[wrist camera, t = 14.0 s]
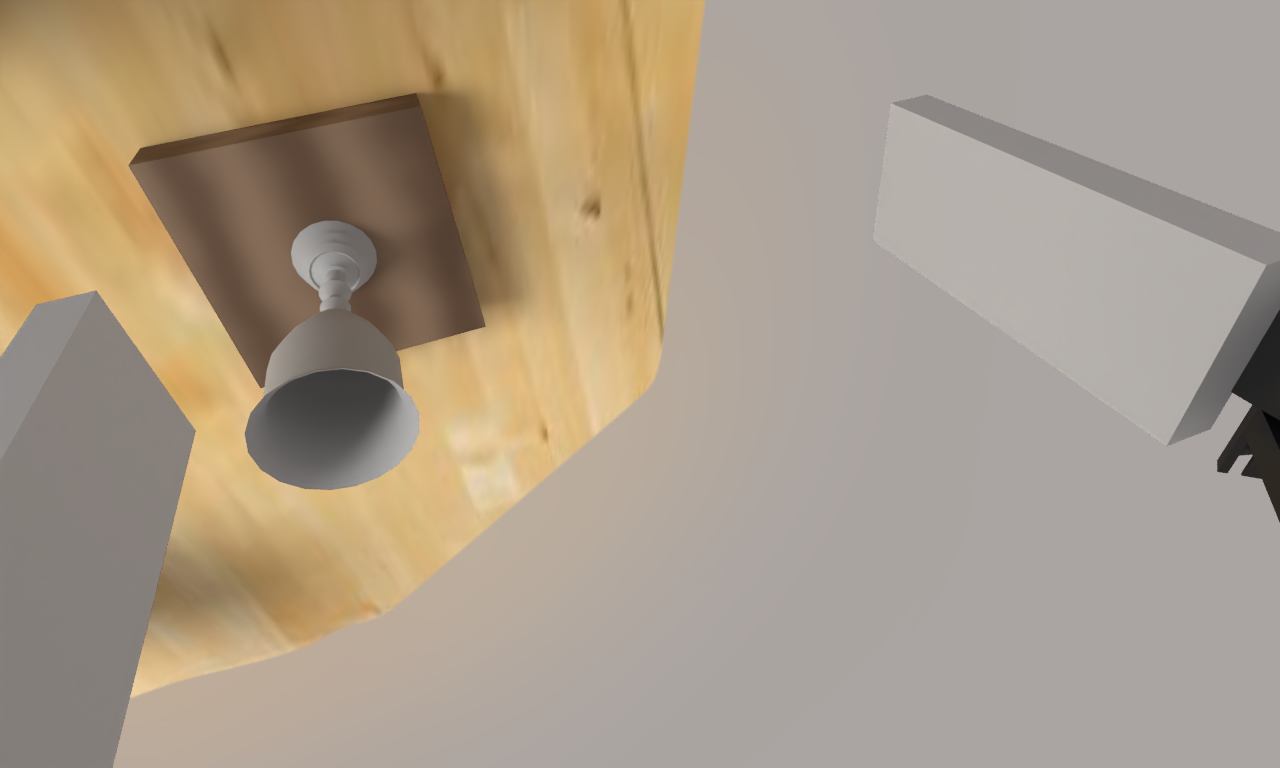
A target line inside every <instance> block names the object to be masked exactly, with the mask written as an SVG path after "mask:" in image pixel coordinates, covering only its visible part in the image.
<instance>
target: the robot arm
mask: <svg viewBox="0 0 1280 768" xmlns="http://www.w3.org/2000/svg"><path fill="white" fill-rule="evenodd" d="M873 241H875V242H876V243H878V244H879V245H880V246H882V247H883V248H885V249H886V250H888V251H889V252H890V253H892V254H893V255H895V256H896V257H898V258H899V259H900V260H902V261H903V262H905V263H906V264H908V265H909V266H910V267H912V268H913V269H915V270H916V271H918V272H919V273H920V274H922V275H923V276H925V277H926V278H927V279H929V280H931V281H932V282H933V283H935V284H936V285H938V286H939V287H940V288H942V289H943V290H945V291H946V292H947V293H949V294H950V295H952V296H953V297H955V298H956V299H958V300H959V301H960V302H962V303H963V304H965V305H966V306H968V307H969V308H970V309H972V310H973V311H975V312H976V313H977V314H979V315H980V316H982V317H983V318H984V319H986V320H987V321H989V322H990V323H992V324H993V325H994V326H996V327H997V328H999V329H1000V330H1002V331H1003V332H1004V333H1006V334H1007V335H1009V336H1010V337H1012V338H1013V339H1015V340H1016V341H1017V342H1019V343H1020V344H1022V345H1023V346H1025V347H1026V348H1027V349H1029V350H1030V351H1032V352H1033V353H1034V354H1036V355H1037V356H1039V357H1040V358H1042V359H1043V360H1044V361H1046V362H1047V363H1049V364H1050V365H1052V366H1053V367H1054V368H1056V369H1057V370H1059V371H1060V372H1062V373H1063V374H1064V375H1066V376H1067V377H1069V378H1070V379H1072V380H1073V381H1074V382H1076V383H1077V384H1079V385H1080V386H1082V387H1083V388H1084V389H1086V390H1087V391H1089V392H1090V393H1091V394H1093V395H1094V396H1096V397H1097V398H1099V399H1100V400H1101V401H1103V402H1104V403H1106V404H1107V405H1109V406H1110V407H1111V408H1113V409H1114V410H1116V411H1117V412H1119V413H1120V414H1122V415H1123V416H1125V417H1126V418H1127V419H1129V420H1130V421H1132V422H1133V423H1134V424H1136V425H1137V426H1139V427H1140V428H1141V429H1143V430H1144V431H1146V432H1147V433H1149V434H1150V435H1152V436H1153V437H1154V438H1156V439H1157V440H1159V441H1160V442H1161V443H1163V444H1164V445H1166V446H1168V445H1171V444H1173V443H1176V442H1178V441H1181V440H1184V439H1186V438H1188V437H1191V436H1194V435H1196V434H1199V433H1201V432H1204V431H1206V430H1209V429H1211V427H1212V426H1213V424H1214V422H1215V421H1216V419H1217V417H1218V415H1219V414H1220V412H1221V411H1222V409H1223V407H1224V406H1225V404H1226V402H1227V401H1228V399H1229V397H1230V396H1231V394H1232V393H1234V394H1236V395H1237V396H1239V397H1241V398H1242V399H1244V400H1246V401H1248V402H1249V403H1251V404H1252V407H1251V408H1250V410H1249V411H1248V413H1247V414H1246V416H1245V418H1244V419H1243V421H1242V422H1241V424H1240V425H1239V427H1238V429H1237V430H1236V432H1235V433H1234V435H1233V437H1232V438H1231V440H1230V441H1229V443H1228V445H1227V446H1226V448H1225V449H1224V451H1223V452H1222V454H1221V456H1220V457H1219V459H1218V460H1217V465H1218V466H1217V467H1218V468H1217V471H1218V472H1223V473H1228V471H1229V470H1230V468H1231V467H1232V465H1233V464H1234V462H1235V461H1236V459H1237V458H1238V456H1239V455H1251V454H1252V455H1253V456H1252V458H1251V459H1250V461H1249V462H1248V464H1247V465H1246V467H1245V468H1244V470H1243V472H1242V473H1241V475H1242V476H1248V477H1254V478H1260V479H1262V480H1263V482H1264V485H1265V487H1266V490H1267V492H1268V495H1269V497H1270V499H1271V502H1272V504H1273V507H1274V509H1275V512H1276V514H1277V517H1278V519H1279V522H1280V232H1277V231H1274V230H1272V229H1269V228H1267V227H1264V226H1262V225H1259V224H1257V223H1254V222H1252V221H1249V220H1246V219H1244V218H1241V217H1238V216H1236V215H1233V214H1231V213H1228V212H1226V211H1223V210H1221V209H1218V208H1216V207H1213V206H1211V205H1208V204H1205V203H1202V202H1200V201H1198V200H1195V199H1193V198H1190V197H1187V196H1185V195H1182V194H1180V193H1177V192H1175V191H1172V190H1170V189H1167V188H1165V187H1162V186H1159V185H1157V184H1154V183H1151V182H1149V181H1146V180H1144V179H1141V178H1139V177H1136V176H1134V175H1131V174H1129V173H1126V172H1124V171H1121V170H1118V169H1116V168H1113V167H1111V166H1108V165H1106V164H1103V163H1100V162H1098V161H1095V160H1093V159H1090V158H1088V157H1085V156H1082V155H1080V154H1077V153H1075V152H1072V151H1070V150H1067V149H1065V148H1062V147H1060V146H1057V145H1054V144H1052V143H1049V142H1047V141H1044V140H1042V139H1039V138H1037V137H1034V136H1031V135H1029V134H1026V133H1024V132H1021V131H1018V130H1016V129H1013V128H1010V127H1008V126H1006V125H1003V124H1001V123H998V122H995V121H993V120H990V119H988V118H985V117H983V116H980V115H978V114H975V113H972V112H970V111H967V110H965V109H962V108H960V107H957V106H955V105H952V104H949V103H947V102H944V101H942V100H939V99H937V98H934V97H932V96H929V95H924V96H920V97H915V98H911V99H907V100H903V101H898V102H894V103H891V107H890V115H889V122H888V131H887V138H886V145H885V153H884V161H883V168H882V176H881V183H880V192H879V199H878V206H877V214H876V221H875V229H874V237H873ZM195 432H196V430H195V429H194V428H193V426H192V425H191V423H190V422H189V420H188V419H187V418H186V416H185V415H184V413H183V412H182V411H181V409H180V408H179V406H178V405H177V404H176V402H175V401H174V399H173V398H172V397H171V395H170V394H169V392H168V391H167V389H166V388H165V387H164V385H163V384H162V382H161V381H160V380H159V378H158V377H157V375H156V374H155V373H154V371H153V370H152V368H151V367H150V366H149V364H148V363H147V361H146V360H145V358H144V357H143V356H142V354H141V353H140V351H139V350H138V349H137V347H136V346H135V344H134V343H133V342H132V340H131V339H130V337H129V336H128V335H127V333H126V332H125V330H124V329H123V327H122V326H121V325H120V323H119V322H118V320H117V319H116V318H115V316H114V315H113V313H112V312H111V311H110V309H109V308H108V306H107V305H106V304H105V302H104V301H103V299H102V298H101V296H100V295H99V294H98V292H97V291H92V292H88V293H84V294H80V295H75V296H71V297H67V298H63V299H58V300H54V301H50V302H46V303H41V304H37V305H36V306H35V307H34V309H33V310H32V312H31V313H30V315H29V316H28V318H27V319H26V321H25V322H24V324H23V325H22V327H21V328H20V330H19V331H18V332H17V334H16V335H15V337H14V338H13V340H12V341H11V343H10V344H9V346H8V347H7V349H6V350H5V352H4V353H3V355H2V356H1V357H0V768H113V763H114V759H115V755H116V751H117V747H118V743H119V739H120V735H121V731H122V727H123V723H124V719H125V715H126V711H127V707H128V703H129V699H130V695H131V691H132V687H133V683H134V678H135V674H136V670H137V666H138V662H139V658H140V654H141V650H142V646H143V642H144V638H145V634H146V630H147V626H148V622H149V618H150V614H151V610H152V606H153V602H154V598H155V593H156V589H157V585H158V581H159V577H160V573H161V569H162V565H163V561H164V557H165V553H166V549H167V545H168V541H169V537H170V533H171V529H172V525H173V521H174V517H175V513H176V509H177V504H178V500H179V496H180V492H181V488H182V484H183V480H184V476H185V472H186V468H187V464H188V460H189V456H190V452H191V448H192V444H193V440H194V436H195Z"/></svg>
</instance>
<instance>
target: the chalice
mask: <svg viewBox="0 0 1280 768" xmlns="http://www.w3.org/2000/svg"><path fill="white" fill-rule="evenodd" d="M291 257H292V263H293V266H294V267H295V269H296V271H297V273H298V274H299V276H301V277H302V278H303V279H304V280H305V281H306V282H307V283H308V284H310V285H311V286H312V287H313V288H314V289H315V290H317V291H319V297H320V299H321V300H322V301H323V302H322V303H321V305H320V312H319V313H317V314H315V315H314V316H312V317H310V318H308V319H307V320H305V321H304V322H302V323H301V324H299V325H298V326H296V327H295V328H294V329H293V330H292V331H291V332H290V333H289V334H288V335H287V336H286V337H285V338H284V339H283V340H282V342H281V343H280V344H279V345H278V347H277V348H276V349H275V350H274V352H273V353H272V354H271V357H270V361H269V364H268V368H267V372H266V380H265V388H264V396H263V399H262V400H261V401H260V402H259V403H258V405H257V406H256V407H255V408H254V410H253V411H252V412H251V414H250V417H249V420H248V424H247V427H246V430H245V437H246V443H247V448H248V453H249V454H250V456H251V457H252V458H253V460H254V461H255V462H256V464H257V465H258V466H259V468H260V469H261V470H262V471H264V472H266V473H267V474H269V475H270V476H272V477H274V478H275V479H277V480H278V481H280V482H283V483H286V484H290V485H293V486H297V487H300V488H304V489H322V490H333V489H339V488H345V487H352V486H357V485H359V484H362V483H365V482H367V481H370V480H373V479H375V478H378V477H380V476H381V475H383V474H384V473H386V472H387V471H389V470H391V469H392V468H394V467H395V466H397V465H398V464H399V463H400V462H401V461H402V460H403V458H404V457H405V456H406V455H407V454H408V453H409V452H410V451H411V450H412V447H413V445H414V443H415V441H416V438H417V436H418V434H419V412H418V410H417V408H416V406H415V404H414V402H413V400H412V398H411V396H410V395H409V394H408V393H407V392H406V391H404V388H403V380H402V373H401V365H400V358H399V356H398V354H397V352H396V350H395V348H394V346H393V344H392V343H391V342H390V341H389V340H388V339H387V338H386V337H385V336H384V335H383V334H382V333H381V332H380V331H379V330H378V329H377V328H376V327H375V326H374V325H373V324H372V323H371V322H369V321H367V320H365V319H364V318H362V317H360V316H358V315H356V314H354V313H352V312H350V311H351V306H350V304H349V302H348V301H349V300H350V298H351V295H352V292H354V291H355V290H357V289H358V288H360V286H362V285H363V284H364V283H366V282H367V281H368V280H369V278H370V277H371V276H372V274H373V273H374V271H375V267H376V264H377V255H376V250H375V247H374V245H373V243H372V241H371V240H370V239H369V237H368V236H367V235H366V234H365V233H364V232H363V231H362V230H360V229H358V228H356V227H355V226H353V225H351V224H348V223H344V222H340V221H321V222H318V223H314V224H311V225H309V226H308V227H307V228H305V229H304V230H302V231H301V232H300V233H299V234H298V236H297V237H296V239H295V240H294V241H293V246H292V250H291Z"/></svg>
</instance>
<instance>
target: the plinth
mask: <svg viewBox="0 0 1280 768" xmlns="http://www.w3.org/2000/svg"><path fill="white" fill-rule="evenodd" d="M129 167H130V169H131V171H132V172H133V174H134V176H135V177H136V179H137V181H138V183H139V184H140V186H141V188H142V189H143V191H144V193H145V194H146V196H147V198H148V199H149V201H150V203H151V204H152V206H153V208H154V209H155V211H156V213H157V215H158V216H159V218H160V220H161V221H162V223H163V225H164V226H165V228H166V230H167V231H168V233H169V235H170V236H171V238H172V240H173V241H174V243H175V245H176V247H177V248H178V250H179V252H180V253H181V255H182V257H183V258H184V260H185V262H186V263H187V265H188V267H189V268H190V270H191V272H192V274H193V275H194V277H195V279H196V280H197V282H198V284H199V285H200V287H201V289H202V290H203V292H204V294H205V295H206V297H207V299H208V300H209V302H210V304H211V306H212V307H213V309H214V311H215V312H216V314H217V316H218V317H219V319H220V321H221V322H222V324H223V326H224V327H225V329H226V331H227V332H228V334H229V336H230V338H231V339H232V341H233V343H234V344H235V346H236V348H237V349H238V351H239V353H240V354H241V356H242V358H243V359H244V361H245V363H246V364H247V366H248V368H249V370H250V371H251V373H252V375H253V376H254V378H255V380H256V381H257V383H258V385H259V386H260V388H263V387H265V380H266V372H267V368H268V364H269V361H270V357H271V354H272V353H273V352H274V350H275V349H276V348H277V347H278V345H279V344H280V343H281V342H282V340H283V339H284V338H285V337H286V336H287V335H288V334H289V333H290V332H291V331H292V330H293V329H294V328H295V327H296V326H298V325H299V324H301V323H302V322H304V321H305V320H307V319H308V318H310V317H312V316H314V315H315V314H317V313H319V312H320V305H321V303H322V302H323V301H322V300H321V299H320V297H319V291H317V290H315V289H314V288H313V287H312V286H311V285H310V284H308V283H307V282H306V281H305V280H304V279H303V278H302V277H301V276H299V274H298V273H297V271H296V269H295V267H294V266H293V263H292V257H291V250H292V246H293V241H294V240H295V239H296V237H297V236H298V234H299V233H300V232H301V231H302V230H304V229H305V228H307V227H308V226H309V225H311V224H314V223H318V222H321V221H340V222H344V223H348V224H351V225H353V226H355V227H356V228H358V229H360V230H362V231H363V232H364V233H365V234H366V235H367V236H368V237H369V239H370V240H371V241H372V243H373V245H374V247H375V250H376V255H377V264H376V267H375V271H374V273H373V274H372V276H371V277H370V278H369V280H368V281H367V282H366V283H364V284H363V285H362V286H360V288H358V289H357V290H355V291H354V292H352V295H351V298H350V300H349V301H348V302H349V304H350V306H351V311H350V312H352V313H354V314H356V315H358V316H360V317H362V318H364V319H365V320H367V321H369V322H371V323H372V324H373V325H374V326H375V327H376V328H377V329H378V330H379V331H380V332H381V333H382V334H383V335H384V336H385V337H386V338H387V339H388V340H389V341H390V342H391V343H392V344H393V346H394V348H395V350H396V351H398V350H402V349H405V348H409V347H413V346H416V345H420V344H424V343H427V342H431V341H435V340H438V339H442V338H446V337H449V336H453V335H456V334H460V333H464V332H467V331H471V330H475V329H478V328H482V327H486V326H485V322H484V319H483V316H482V312H481V309H480V305H479V302H478V299H477V295H476V292H475V289H474V285H473V282H472V278H471V275H470V272H469V268H468V265H467V262H466V258H465V255H464V251H463V248H462V245H461V241H460V238H459V234H458V231H457V228H456V224H455V221H454V218H453V214H452V211H451V207H450V204H449V201H448V197H447V194H446V191H445V187H444V184H443V180H442V177H441V174H440V170H439V167H438V164H437V160H436V157H435V153H434V150H433V147H432V143H431V140H430V137H429V133H428V130H427V126H426V123H425V120H424V116H423V113H422V110H421V106H420V103H419V100H418V98H417V95H416V93H415V94H410V95H405V96H400V97H395V98H390V99H385V100H380V101H375V102H370V103H365V104H360V105H355V106H350V107H345V108H340V109H335V110H330V111H325V112H320V113H315V114H310V115H305V116H300V117H295V118H290V119H285V120H280V121H275V122H270V123H265V124H260V125H255V126H250V127H245V128H240V129H235V130H230V131H225V132H220V133H215V134H210V135H205V136H200V137H195V138H190V139H185V140H180V141H175V142H170V143H165V144H160V145H155V146H150V147H145V148H140V150H139V151H138V152H137V154H136V155H135V157H134V158H133V160H132V161H131V163H130V164H129Z"/></svg>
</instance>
